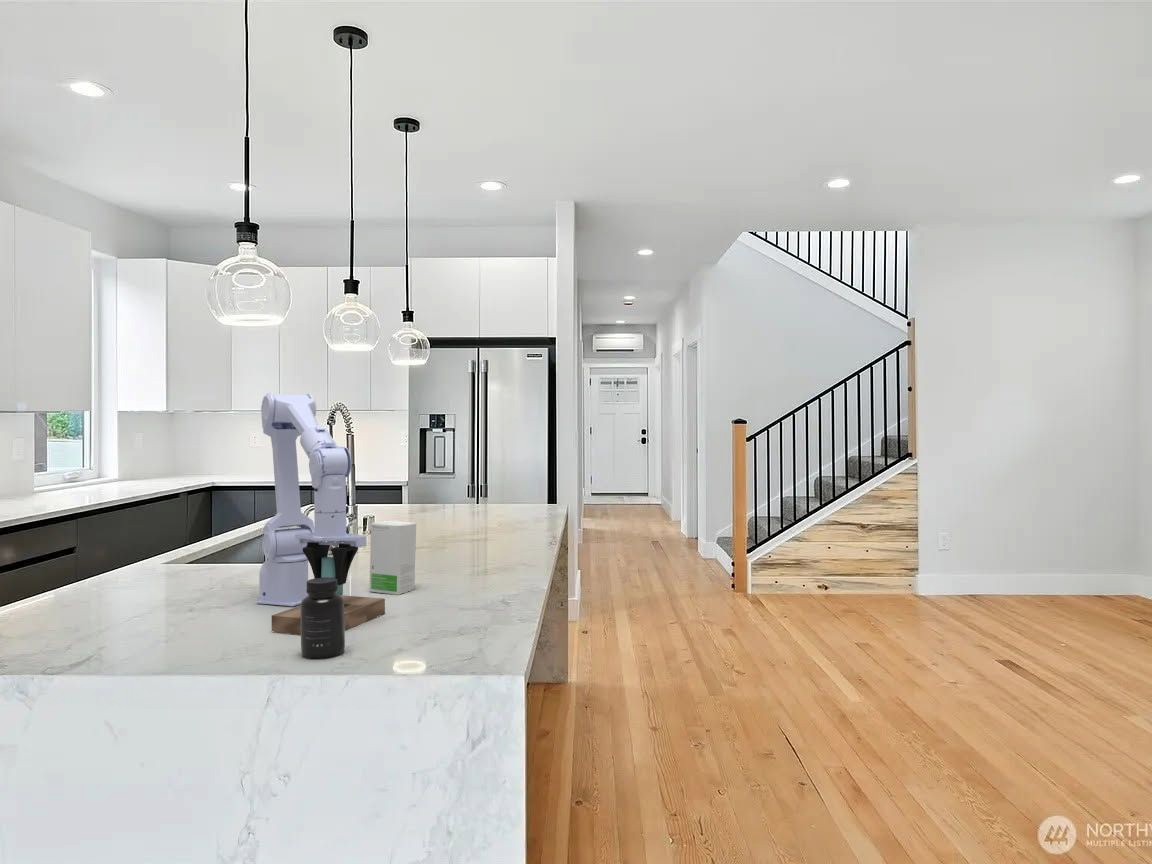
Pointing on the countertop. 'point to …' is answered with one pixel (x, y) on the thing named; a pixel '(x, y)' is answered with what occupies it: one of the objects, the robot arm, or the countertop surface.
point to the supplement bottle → (322, 620)
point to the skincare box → (392, 557)
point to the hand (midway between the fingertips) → (330, 583)
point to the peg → (330, 571)
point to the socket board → (354, 614)
